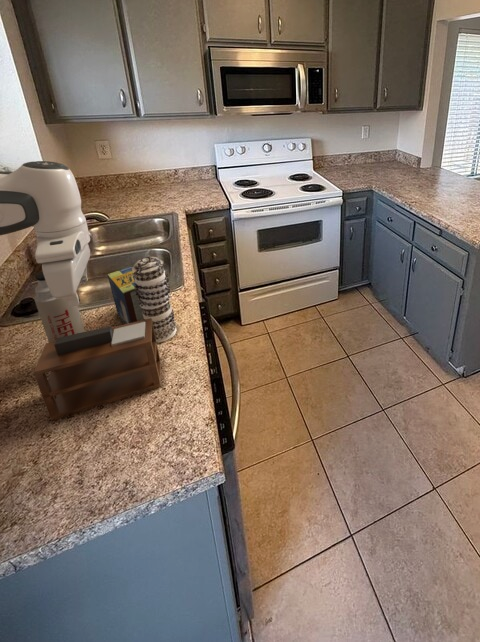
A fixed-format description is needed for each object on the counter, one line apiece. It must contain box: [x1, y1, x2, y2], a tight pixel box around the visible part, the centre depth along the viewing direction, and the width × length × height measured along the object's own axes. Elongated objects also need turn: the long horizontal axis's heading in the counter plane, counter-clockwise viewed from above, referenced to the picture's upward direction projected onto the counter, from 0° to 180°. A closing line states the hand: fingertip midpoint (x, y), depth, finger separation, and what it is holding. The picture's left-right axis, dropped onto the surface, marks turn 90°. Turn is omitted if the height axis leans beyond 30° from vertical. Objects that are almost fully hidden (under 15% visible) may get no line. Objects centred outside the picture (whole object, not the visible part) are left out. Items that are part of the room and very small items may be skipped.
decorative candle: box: [132, 256, 177, 344], centre depth 105 cm, size 9×9×25 cm
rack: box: [33, 318, 162, 421], centre depth 87 cm, size 23×10×14 cm, turn 114°
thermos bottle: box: [33, 270, 86, 343], centre depth 93 cm, size 8×8×28 cm
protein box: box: [107, 265, 143, 325], centre depth 114 cm, size 10×15×16 cm
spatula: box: [54, 322, 145, 355], centre depth 85 cm, size 18×6×3 cm, turn 114°
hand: (79, 293), depth 80 cm, fingers open, 8 cm apart
